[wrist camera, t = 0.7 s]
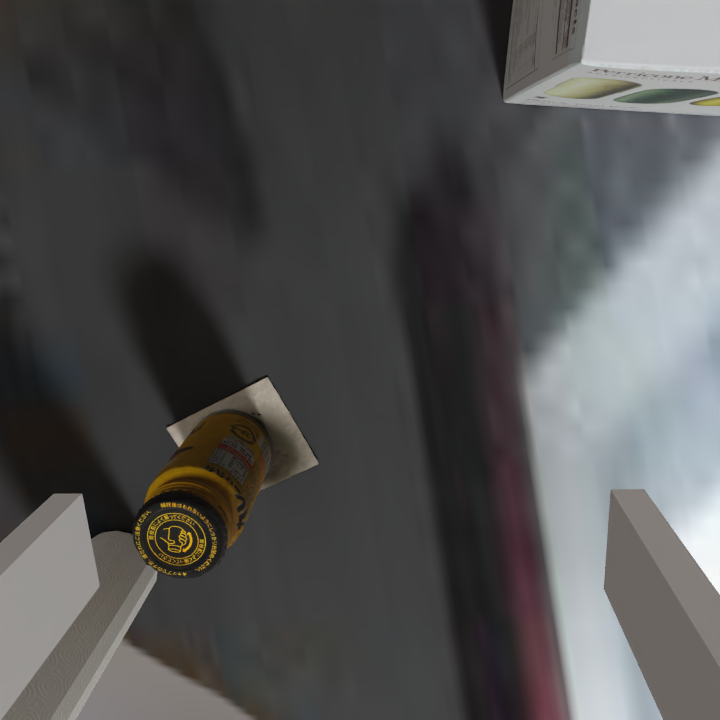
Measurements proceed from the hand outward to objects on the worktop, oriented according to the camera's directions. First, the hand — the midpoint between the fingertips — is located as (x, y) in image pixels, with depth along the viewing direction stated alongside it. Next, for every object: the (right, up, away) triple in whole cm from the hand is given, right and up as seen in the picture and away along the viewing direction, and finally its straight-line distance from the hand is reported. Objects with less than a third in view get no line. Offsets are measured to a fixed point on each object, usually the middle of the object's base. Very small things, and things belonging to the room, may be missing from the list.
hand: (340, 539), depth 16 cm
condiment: (-8, -2, +31) cm, 32 cm away
